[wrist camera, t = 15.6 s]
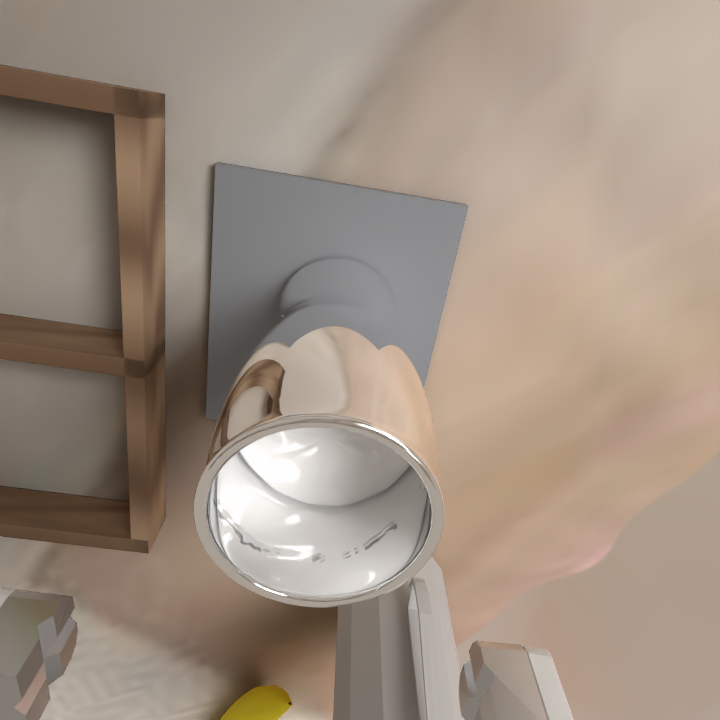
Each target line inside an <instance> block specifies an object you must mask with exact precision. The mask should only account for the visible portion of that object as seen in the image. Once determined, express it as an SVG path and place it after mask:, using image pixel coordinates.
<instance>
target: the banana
mask: <svg viewBox="0 0 720 720" xmlns="http://www.w3.org/2000/svg"><path fill="white" fill-rule="evenodd" d="M291 706H292V701H291V699H290V697H289V695H288V693H287V692H286V691H285V690H284V689H283V688H281V687H278V686H276V685H271V686H260V687H255V688H253V689H251V690H250V691H248V692H247V693H245V694H244V695H242V696H241V697H240V698H239V699H238V700H236V701H235V702H234V703H233V704H232V705H231V707H230V708H229V709H228V710H227V711H226V712H225V713H224V715H223V716H222V717H221V719H220V720H278V719H279V718H280V717H281V716H282V715H283V714H284V713H285V712H286V711H287V710H288V709H289V708H290V707H291Z"/></svg>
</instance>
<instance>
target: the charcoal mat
mask: <svg viewBox="0 0 720 720" xmlns="http://www.w3.org/2000/svg"><path fill="white" fill-rule="evenodd" d="M467 209H468V206H467V205H466V204H461V203H456V202H450V201H444V200H438V199H432V198H426V197H420V196H414V195H408V194H402V193H397V192H391V191H385V190H379V189H373V188H367V187H361V186H355V185H349V184H344V183H338V182H332V181H326V180H320V179H314V178H308V177H302V176H296V175H291V174H285V173H279V172H273V171H267V170H261V169H255V168H249V167H243V166H238V165H232V164H226V163H220V162H218V163H215V183H214V210H213V236H212V262H211V289H210V315H209V342H208V368H207V394H206V419H210V420H218V418H219V415H220V412H221V410H222V407H223V404H224V402H225V399H226V396H227V394H228V392H229V390H230V388H231V386H232V384H233V382H234V380H235V378H236V376H237V374H238V372H239V370H240V368H241V366H242V365H243V363H244V362H245V360H246V359H247V358H248V356H249V355H250V354H251V352H252V351H253V350H254V348H255V347H256V346H257V344H258V343H259V342H260V341H261V340H262V339H263V338H264V336H265V335H266V334H267V333H268V332H269V331H270V330H271V329H272V328H273V327H274V326H275V325H276V324H277V323H278V305H279V300H280V296H281V293H282V291H283V289H284V287H285V285H286V284H287V282H288V281H289V279H290V278H291V277H292V276H293V275H294V274H295V273H296V272H297V271H299V270H300V269H301V268H303V267H305V266H306V265H308V264H310V263H313V262H315V261H318V260H322V259H327V258H344V259H350V260H353V261H357V262H359V263H361V264H364V265H365V266H367V267H369V268H370V269H372V270H373V271H374V272H376V273H377V274H378V275H379V276H380V277H381V278H382V279H383V281H384V282H385V283H386V285H387V286H388V288H389V290H390V292H391V294H392V297H393V300H394V305H395V323H394V328H393V333H394V335H395V336H396V338H397V339H398V340H399V342H400V343H401V345H402V346H403V348H404V349H405V351H406V353H407V354H408V356H409V358H410V360H411V362H412V364H413V366H414V368H415V369H416V371H417V373H418V375H419V378H420V380H421V383H422V386H423V389H424V385H425V381H426V376H427V372H428V368H429V364H430V360H431V356H432V352H433V348H434V344H435V340H436V336H437V332H438V328H439V323H440V319H441V315H442V311H443V307H444V303H445V299H446V295H447V291H448V287H449V283H450V279H451V274H452V270H453V266H454V262H455V258H456V254H457V250H458V246H459V242H460V238H461V234H462V230H463V226H464V221H465V217H466V213H467Z"/></svg>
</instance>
